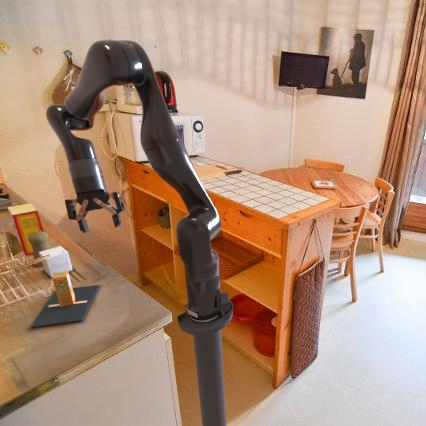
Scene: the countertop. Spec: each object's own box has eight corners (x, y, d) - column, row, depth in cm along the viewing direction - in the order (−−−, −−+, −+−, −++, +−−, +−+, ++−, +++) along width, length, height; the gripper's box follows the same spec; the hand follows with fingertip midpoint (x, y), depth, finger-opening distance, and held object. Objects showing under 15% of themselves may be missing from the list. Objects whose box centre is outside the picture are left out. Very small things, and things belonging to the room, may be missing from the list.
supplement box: (59, 308, 88) (50, 278, 85) (61, 301, 91) (53, 271, 87) (74, 305, 90) (66, 275, 86) (76, 298, 93) (68, 269, 89)
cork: (30, 267, 106) (20, 237, 102) (40, 257, 111) (31, 229, 107) (51, 265, 107) (43, 237, 103) (60, 256, 113) (52, 228, 108)
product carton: (65, 263, 109) (60, 245, 106) (73, 270, 106) (68, 251, 103) (43, 271, 104) (37, 251, 101) (50, 278, 101) (44, 258, 98)
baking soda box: (20, 246, 117) (6, 206, 111) (42, 240, 122) (31, 201, 115) (25, 255, 111) (11, 214, 105) (48, 249, 116) (37, 209, 110)
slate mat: (99, 286, 99) (98, 284, 99) (81, 321, 86) (81, 319, 85) (56, 291, 96) (56, 289, 96) (31, 328, 82) (30, 326, 82)
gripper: (51, 180, 87) (68, 236, 89) (108, 171, 90) (123, 226, 92) (66, 179, 94) (82, 232, 97) (118, 171, 97) (132, 222, 100)
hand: (102, 229), depth 94 cm, fingers open, 8 cm apart
